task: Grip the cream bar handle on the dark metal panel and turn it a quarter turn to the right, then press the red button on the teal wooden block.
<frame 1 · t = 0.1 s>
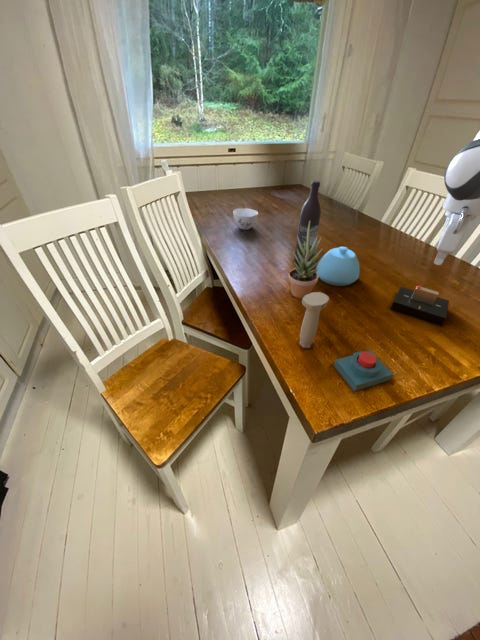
hand: (439, 256, 72), 19 cm above the table, tool pointing down, fingers open, 8 cm apart
potted plant: (299, 294, 92), on the table
red button: (366, 360, 63), point 4 cm above the table, slide at 0.1 cm
handle: (305, 345, 73), on the table
rod panel: (417, 308, 86), on the table
teacup: (245, 227, 141), on the table
turn handle: (424, 295, 83), point 5 cm above the table, hinge at 0.0°
wine bottle: (302, 263, 110), on the table
button block: (361, 372, 65), on the table
sugar bowl: (335, 277, 101), on the table
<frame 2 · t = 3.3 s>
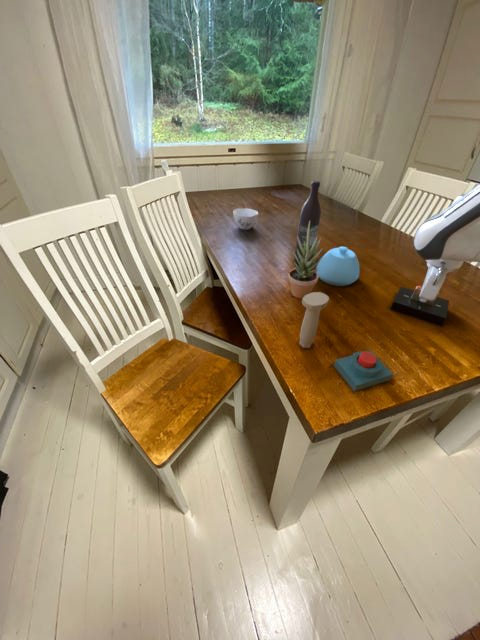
hand: (423, 298, 83), 4 cm above the table, tool pointing down, fingers closed on turn handle, 2 cm apart
turn handle: (424, 295, 83), point 5 cm above the table, hinge at 0.0°, touching gripper
everything else where it was.
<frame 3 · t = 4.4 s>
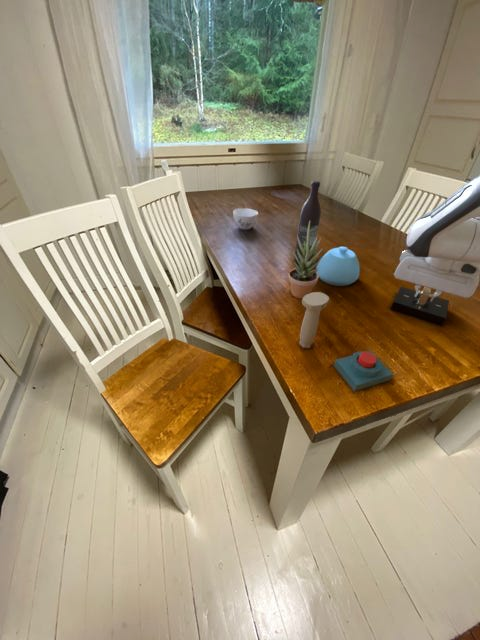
hand: (422, 298, 84), 4 cm above the table, tool pointing down, fingers closed on turn handle, 2 cm apart
turn handle: (424, 295, 83), point 5 cm above the table, hinge at -89.9°, touching gripper
everything else where it was.
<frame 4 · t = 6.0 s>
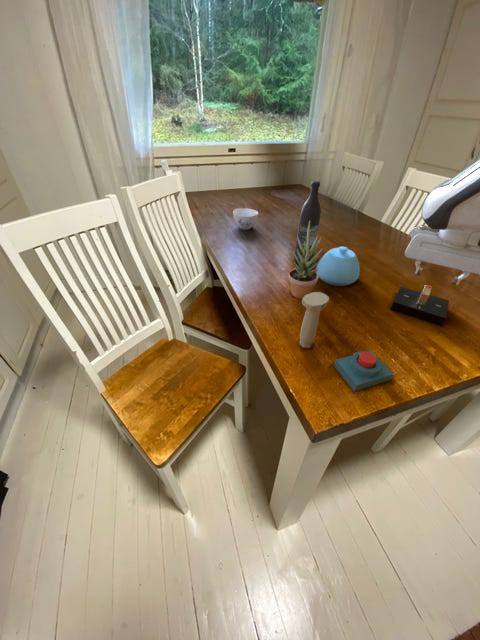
hand: (435, 278, 79), 11 cm above the table, tool pointing down, fingers open, 8 cm apart
turn handle: (424, 295, 83), point 5 cm above the table, hinge at -89.9°
everything else where it was.
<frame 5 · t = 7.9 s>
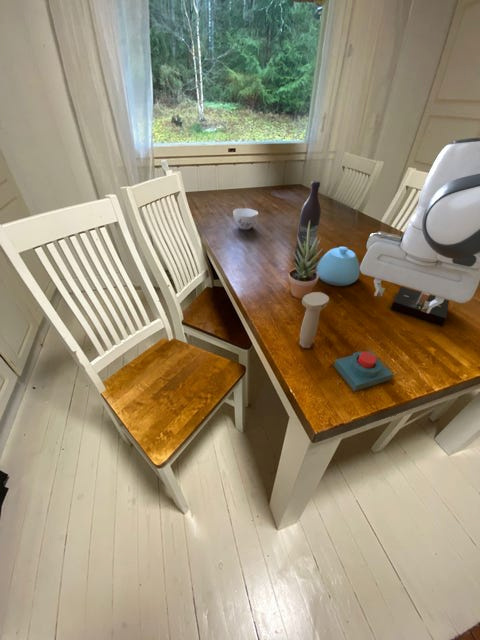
hand: (400, 303, 59), 17 cm above the table, tool pointing down, fingers open, 8 cm apart
nothing on the table moved.
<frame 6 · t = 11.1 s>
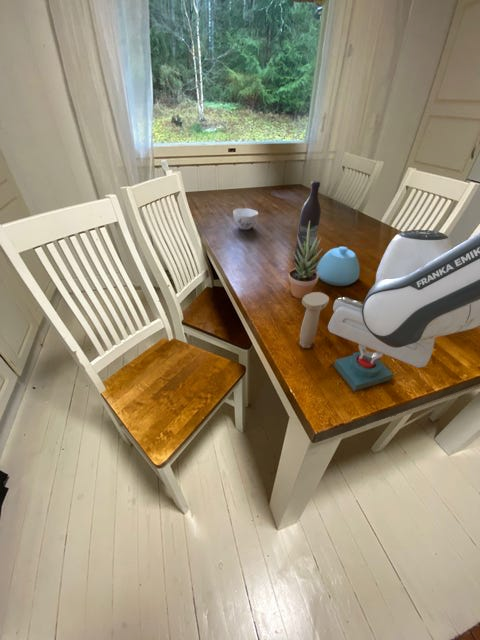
hand: (366, 359, 62), 5 cm above the table, tool pointing down, fingers closed, pressing on red button
red button: (366, 361, 63), point 4 cm above the table, slide at -0.5 cm, touching gripper
everything else where it was.
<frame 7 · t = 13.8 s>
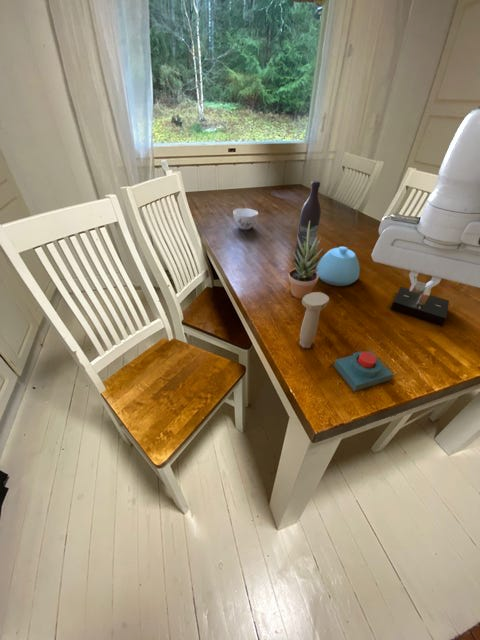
hand: (417, 291, 54), 21 cm above the table, tool pointing down, fingers closed
red button: (366, 360, 63), point 4 cm above the table, slide at 0.1 cm
everything else where it was.
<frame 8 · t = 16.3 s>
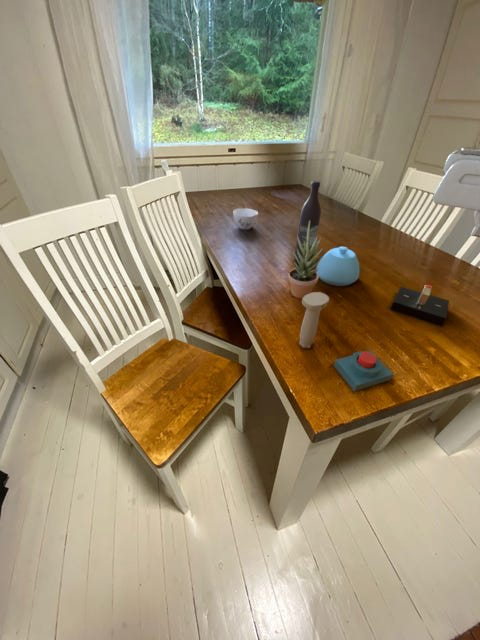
hand: (479, 236, 51), 31 cm above the table, tool pointing down, fingers closed
nothing on the table moved.
at the end: turn handle at -90° (first picture: +0°); red button pushed in 1.1 cm at the most during the clip, back to where it started at the end; red button slide at 0.1 cm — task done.
